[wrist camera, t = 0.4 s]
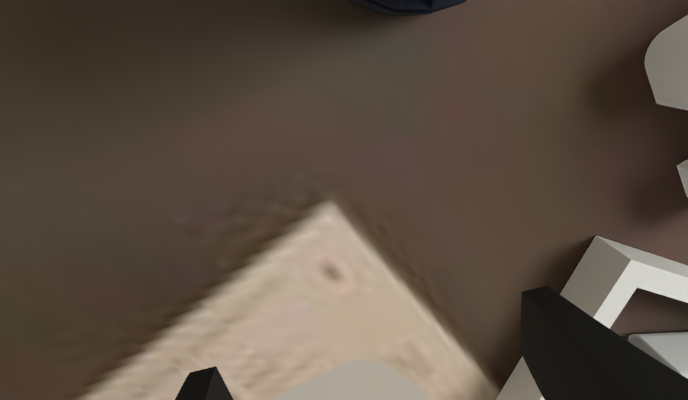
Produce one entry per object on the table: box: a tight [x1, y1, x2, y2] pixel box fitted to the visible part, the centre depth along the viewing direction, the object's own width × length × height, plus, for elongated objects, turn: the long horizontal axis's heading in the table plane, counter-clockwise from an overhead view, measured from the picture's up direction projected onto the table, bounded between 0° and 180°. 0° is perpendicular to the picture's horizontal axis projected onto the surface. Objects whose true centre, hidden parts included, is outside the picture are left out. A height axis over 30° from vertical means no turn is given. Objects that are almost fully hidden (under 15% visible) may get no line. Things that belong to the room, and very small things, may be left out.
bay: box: [496, 236, 688, 400], centre depth 24 cm, size 12×11×2 cm
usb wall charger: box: [628, 332, 688, 379], centre depth 24 cm, size 4×7×4 cm, turn 88°
